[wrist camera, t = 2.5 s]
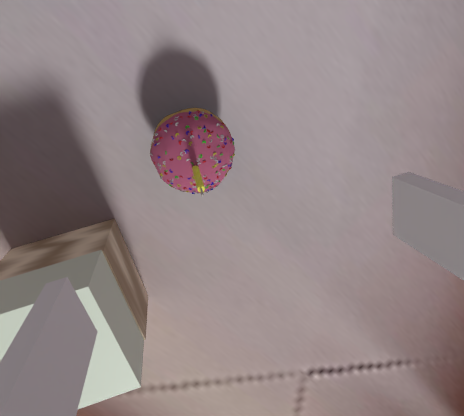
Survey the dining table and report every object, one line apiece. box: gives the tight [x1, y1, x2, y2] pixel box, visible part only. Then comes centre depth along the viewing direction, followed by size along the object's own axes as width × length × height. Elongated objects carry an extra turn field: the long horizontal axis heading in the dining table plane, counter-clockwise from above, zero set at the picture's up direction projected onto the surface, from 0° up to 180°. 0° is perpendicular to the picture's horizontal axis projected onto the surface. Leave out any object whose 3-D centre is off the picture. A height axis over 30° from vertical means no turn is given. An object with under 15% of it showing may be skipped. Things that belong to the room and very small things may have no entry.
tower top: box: [0, 250, 144, 409], centre depth 29 cm, size 12×12×6 cm
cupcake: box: [150, 108, 235, 196], centre depth 30 cm, size 9×8×12 cm
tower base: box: [0, 219, 148, 340], centre depth 35 cm, size 12×12×8 cm
